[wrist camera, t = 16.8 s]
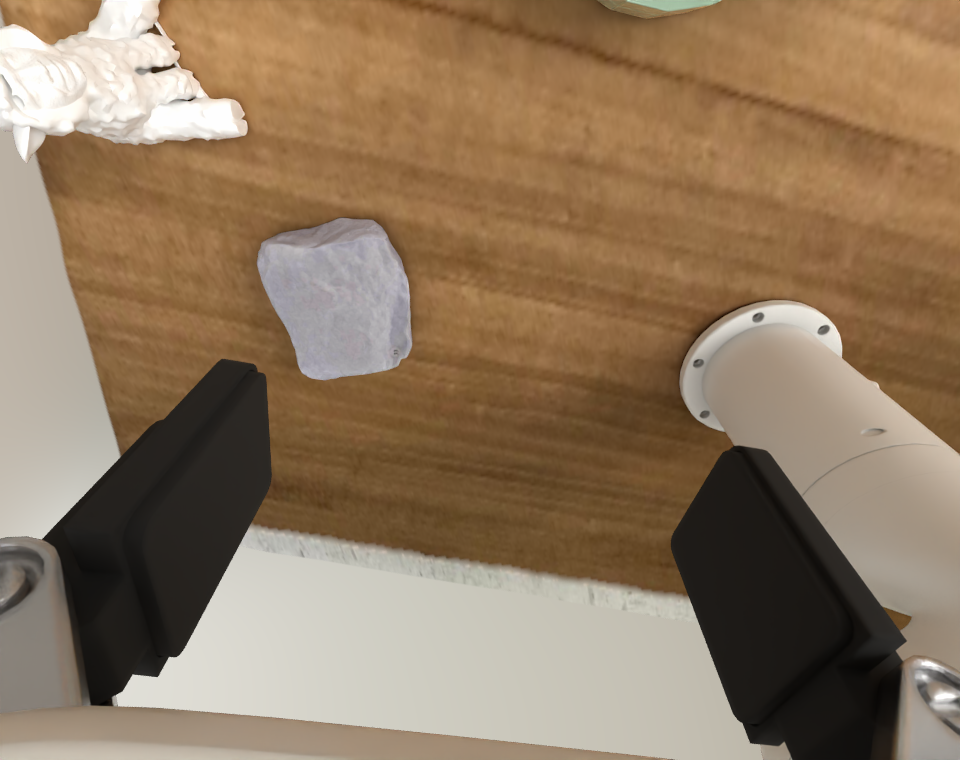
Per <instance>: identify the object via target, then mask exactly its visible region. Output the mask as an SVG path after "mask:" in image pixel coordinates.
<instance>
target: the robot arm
mask: <svg viewBox="0 0 960 760" xmlns="http://www.w3.org/2000/svg"><path fill="white" fill-rule="evenodd" d="M679 384H680V391H681V395H682V398H683V400H684V402H685V404H686V406H687V407H688V409H689V410H690V412H691V414H692V415H693V416H694V417H695V418H696V419H697V420H698V421H700V422H701V423H703V424H705V425H706V426H708V427H710V428H713V429H716V430H719V431H724V432H726V433H727V435H728V436H729V438H730V439H731V441H732V442H733V444H734V447H732V448H731V449H730V450H729V451H725V452H723V453H722V454H721V456H720V457H719V459H718V461H717V462H716V464H715V466H714V467H713V469H712V471H711V472H710V474H709V475H708V477H707V479H706V480H705V482H704V484H703V485H702V487H701V489H700V490H699V492H698V494H697V495H696V497H695V498H694V500H693V502H692V503H691V505H690V507H689V508H688V510H687V512H686V513H685V515H684V517H683V518H682V520H681V521H680V523H679V525H678V526H677V528H676V530H675V531H674V533H673V535H672V539H671V550H672V553H673V556H674V558H675V561H676V564H677V566H678V569H679V572H680V574H681V577H682V580H683V582H684V585H685V588H686V590H687V593H688V596H689V598H690V601H691V604H692V606H693V609H694V611H695V614H696V617H697V619H698V622H699V625H700V627H701V630H702V633H703V635H704V638H705V641H706V643H707V646H708V648H709V651H710V654H711V657H712V659H713V662H714V665H715V667H716V670H717V672H718V675H719V678H720V680H721V683H722V686H723V688H724V691H725V694H726V696H727V699H728V702H729V704H730V707H731V709H732V712H733V714H734V715H735V717H736V718H737V720H739V721H740V722H742V723H743V726H744V728H745V730H746V733H747V736H748V739H749V741H750V743H752V744H760V745H761V753H762V757H763V760H960V455H959V454H958V453H957V452H956V451H954V450H953V449H952V448H951V447H950V446H948V445H947V444H946V443H945V442H943V441H942V440H941V439H940V438H939V437H937V436H936V435H935V434H934V433H932V432H931V431H930V430H929V429H928V428H926V427H925V426H924V425H923V424H921V423H920V422H919V421H918V420H917V419H915V418H914V417H913V416H912V415H910V414H909V413H908V412H907V411H906V410H904V409H903V408H902V407H901V406H899V405H898V404H897V403H896V402H895V401H893V400H892V399H891V398H890V397H888V396H887V395H886V394H885V393H884V392H882V391H881V390H880V389H879V385H878V383H876V382H874V381H869V380H868V379H866V378H865V377H864V376H863V375H862V374H860V373H859V372H858V371H857V370H855V369H854V368H853V367H852V366H851V365H849V364H848V363H847V362H846V361H844V360H843V359H842V343H841V338H840V335H839V333H838V331H837V329H836V327H835V325H834V324H833V323H832V322H831V321H830V320H829V319H828V318H827V317H826V316H825V315H823V314H822V313H820V312H819V311H818V310H816V309H815V308H813V307H810V306H808V305H806V304H803V303H800V302H794V301H789V300H771V301H764V302H758V303H754V304H751V305H748V306H745V307H742V308H739V309H737V310H735V311H733V312H731V313H729V314H727V315H725V316H724V317H722V318H721V319H719V320H718V321H716V322H715V323H714V324H712V325H711V326H710V327H709V328H708V329H707V330H705V331H704V332H703V333H702V334H701V335H700V336H699V337H698V339H697V340H696V341H695V343H694V344H693V345H692V346H691V348H690V350H689V351H688V353H687V355H686V357H685V359H684V362H683V365H682V368H681V371H680V381H679ZM271 476H272V472H271V454H270V437H269V419H268V401H267V383H266V376H265V374H264V373H259V372H258V371H257V368H256V366H255V365H254V364H251V363H245V362H239V361H233V360H227V359H221V360H220V361H219V362H217V363H216V365H215V366H214V367H213V368H212V369H211V370H210V371H209V372H208V373H207V374H206V375H205V376H204V377H203V378H202V379H201V381H200V382H199V383H198V384H197V385H196V386H195V387H194V388H193V389H192V390H191V391H190V392H189V393H188V394H187V395H186V396H185V398H184V399H183V400H182V401H181V402H180V403H179V404H178V405H177V406H176V407H175V408H174V409H173V410H172V411H171V412H170V414H169V415H168V416H167V417H166V418H165V419H164V420H160V421H157V422H155V423H154V424H153V425H152V426H150V427H149V428H148V429H147V430H146V431H145V432H144V433H143V434H142V436H141V437H140V438H139V439H138V440H137V441H136V442H135V443H134V444H133V445H132V446H131V447H130V448H129V449H128V450H127V451H126V452H125V453H124V454H123V455H122V456H121V457H120V458H119V459H118V461H117V462H116V463H115V464H114V465H113V466H112V467H111V468H110V469H109V470H108V471H107V472H106V473H105V474H104V475H103V476H102V477H101V478H100V479H99V480H98V481H97V482H96V483H95V485H94V486H93V487H92V488H91V489H90V490H89V491H88V492H87V493H86V494H85V495H84V496H83V497H82V498H81V499H80V500H79V501H78V502H77V503H76V504H75V505H74V506H73V507H72V508H71V510H70V511H69V512H68V513H67V514H66V515H65V516H64V517H63V518H62V519H61V520H60V521H59V522H58V523H57V524H56V525H55V526H54V527H53V528H52V529H51V530H50V532H48V534H47V535H46V536H45V537H44V538H43V539H42V540H41V539H36V538H32V537H5V538H1V539H0V760H673V759H664V758H655V757H646V756H637V755H628V754H618V753H609V752H600V751H591V750H581V749H572V748H562V747H553V746H544V745H535V744H525V743H516V742H506V741H497V740H488V739H478V738H469V737H459V736H450V735H440V734H430V733H420V732H410V731H401V730H390V729H381V728H370V727H362V726H352V725H342V724H332V723H321V722H312V721H302V720H293V719H283V718H272V717H260V716H248V715H236V714H224V713H212V712H200V711H199V712H198V711H188V710H175V709H164V708H146V707H144V708H142V707H118V704H117V699H116V695H117V694H118V693H120V692H122V691H123V690H124V688H125V686H126V685H127V683H128V681H129V680H130V678H131V676H132V674H134V675H144V676H152V677H158V676H159V674H160V672H161V670H162V669H163V667H164V665H165V663H166V661H167V660H168V658H169V657H177V656H179V655H180V654H181V652H182V651H183V649H184V648H185V646H186V645H187V643H188V641H189V639H190V637H191V635H192V633H193V631H194V629H195V628H196V626H197V624H198V622H199V620H200V618H201V616H202V614H203V612H204V611H205V609H206V607H207V605H208V603H209V601H210V599H211V598H212V596H213V594H214V592H215V590H216V588H217V586H218V584H219V582H220V580H221V579H222V576H223V575H224V573H225V571H226V569H227V567H228V566H229V563H230V562H231V560H232V558H233V556H234V554H235V552H236V550H237V548H238V547H239V545H240V543H241V541H242V539H243V537H244V535H245V533H246V532H247V530H248V528H249V526H250V524H251V522H252V520H253V518H254V517H255V515H256V513H257V511H258V509H259V507H260V505H261V503H262V501H263V500H264V498H265V496H266V494H267V492H268V489H269V486H270V483H271ZM882 606H883V607H886V608H889V609H891V610H894V611H897V612H900V613H903V614H906V615H909V616H912V619H911V621H910V623H909V624H908V625H907V626H906V627H905V628H904V629H902V630H900V631H899V629H898V628H897V627H896V625H895V624H894V622H893V621H892V620H891V618H890V617H889V616H888V614H887V613H886V611H885V610H884V609H883V607H882Z"/></svg>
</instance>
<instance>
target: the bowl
mask: <svg viewBox="0 0 960 760" xmlns="http://www.w3.org/2000/svg"><path fill="white" fill-rule="evenodd" d="M597 1H599V2H600V3H601V4H603V5H604V6H605V7H607V8H608V9H611V10H612V11H617V12H621V13H625V14H629V15H633V16H637V17H641V18H645V19H646V18H647V19H650V18H656V17H663V16H669V15H676V14H682V13H687V12H690V11H694V10H697V9H700V8H704V7H707V6H710V5H714V4H716V3H718V2H720V1H721V0H597Z"/></svg>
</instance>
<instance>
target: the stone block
mask: <svg viewBox="0 0 960 760" xmlns="http://www.w3.org/2000/svg"><path fill="white" fill-rule="evenodd" d="M257 266H258V269H259V272H260V275H261V279H262V283H263V286H264V288H265V290H266V293H267V295H268V296H269V298H270V301H271V303H272V305H273V307H274V309H275V310H276V312H277V314H278V316H279V317H280V319H281V320H282V322H283V323H284V325H285V327H286V329H287V331H288V333H289V335H290V337H291V341H292V344H293V346H294V348H295V351H296V357H297V363H298V366H299V368H300V370H301V372H302V373H303V374H305V375H306V376H308V377H310V378H313V379H321V380H328V379H335V378H338V377H345V376H354V375H362V374H370V373H375V372H380V371H385V370H389V369H392V368H395V367H396V366H398V365H399V362H400V360H401V359H403V358H406V357H407V356H408V355H409V352H410V350H411V348H412V335H411V324H410V319H411V312H410V295H409V284H408V279H407V276H406V274H405V272H404V267H403V265H402V260H401V258H400V257H399V255H398V253H397V252H396V250H395V249H394V248H393V246H392V245H391V242H390V241H389V238H388V236H387V234H386V232H385V231H384V229H383V228H382V227H381V226H380V225H379V224H377V223H376V222H375V221H374V220H368V219H363V220H361V219H349V218H338V219H335V220H333V221H331V222H329V223H325V224H322V225H320V226H317V227H313V228H309V229H301V230H296V231H289V232H284V233H279V234H277V235H276V236H274V237H271V238H269V239H267V240H265V241H264V242H262V244H261V250H260V251H259V252H258V259H257Z"/></svg>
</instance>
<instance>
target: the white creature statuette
mask: <svg viewBox="0 0 960 760" xmlns="http://www.w3.org/2000/svg"><path fill="white" fill-rule="evenodd" d="M160 1H161V0H102V4H101V6H100V9H99V12H98V15H97V17H96V18H95V19H94V20H93V21H90V22H89V28H88V30H87V31H86V32H82V31H81V32H78V35H70V36H69V37H67V38H66V39H65V40H64V39H60V40H58V41H57V42H56V44H54V45H49V44H46V43H44V42H43V41H41V40H40V39H39V38H37V37H36V36H35V35H34V34H32V33H31V32H29V31H28V30H26V29H24V28H22V27H20V26H18V25H15V24H11V25H9V26H7V27H0V130H3V131H13V137H14V141H15V145H16V148H17V150H18V152H19V154H20V156H21V158H22V159H23V160H24V162H26V163H28V161H29V159H30V158H31V156H32V155H33V153H34V152H35V151H36V150H37V149H38V148H39V147H40V146H41V145H42V143H43V141H44V139H45V136H46V135H55V136H65V135H67V134H69V133H71V132H73V131H75V130H77V131H80V132H83V133H86V134H90V133H91V134H93V135H94V136H96V137H103V138H105V139H109V140H111V141H112V142H114V143H116V144H117V143H120V142H121V143H123V144H125V143H132V144H133V145H138V144H139V143H143V144H147V145H148V144H149V145H151V144H156V143H163V142H164V141H165V140H180V141H187V140H191V139H193V138H203V139H205V140H207V141H209V140H210V139H216V140H220V139H225V138H236V137H241V136H245V135H246V134H247V130H248V126H247V122H246V121H245V120H243V119H241V118H242V117H243V116H244V115H245V113H244V112H243V110H242V108H241V106H240V104H239V103H238V102H237V101H235V100H233V99H228V98H222V99H211V98H209V96H208V95H207V94H206V93H205V92H204V90H203V89H202V88H201V87H200V82H199V81H197V80H196V79H195V78H194V77H193V76H192V75H193V74H194V73H193V72H191V71H189V70H186V69H181V67H180V66H179V64H178V62H177V60H178V59H179V58H180V52H179V51H176V50H174V49H173V48H172V46H173V45H175V43H174V42H173V41H172V40H171V39H169V38H168V36H167V35H166V33H165V32H164V30H163V29H162V27H161V25H160V24H159V22H158V21H157V19H158V16H159V14H160V13H159V9H158V4H159V2H160ZM153 24H155V25H156V27H157V28H158V30H159V31H160V32H161V34H162V35H163V36H161V35H155V34H153V33H147V31H148V29H151V28H153ZM173 63H174V64H175V66H176V68H172V69H170V70H166V71H162V72H158V73H154V74H153V73H152V67H163V66H164V67H169V66H171V65H172V64H173ZM192 98H195V99H194V100H192V101H183V100H179V99H184V100H189V99H192Z"/></svg>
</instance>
